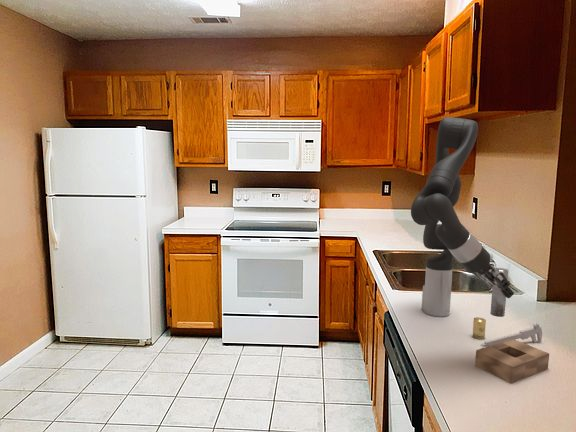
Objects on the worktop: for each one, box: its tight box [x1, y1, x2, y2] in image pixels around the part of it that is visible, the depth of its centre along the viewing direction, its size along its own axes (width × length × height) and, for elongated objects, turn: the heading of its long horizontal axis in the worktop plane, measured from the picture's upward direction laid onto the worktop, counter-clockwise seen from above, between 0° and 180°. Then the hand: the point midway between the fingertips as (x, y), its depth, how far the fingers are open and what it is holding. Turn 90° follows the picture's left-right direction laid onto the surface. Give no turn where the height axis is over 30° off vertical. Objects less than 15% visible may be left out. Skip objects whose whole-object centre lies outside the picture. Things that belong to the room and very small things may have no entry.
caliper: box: [480, 323, 543, 348], centre depth 135 cm, size 20×1×6 cm, turn 100°
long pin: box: [490, 267, 509, 318], centre depth 121 cm, size 4×4×13 cm
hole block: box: [474, 339, 550, 384], centre depth 121 cm, size 11×16×4 cm
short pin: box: [471, 316, 487, 340], centre depth 140 cm, size 4×4×6 cm
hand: (505, 293), depth 121 cm, fingers closed on long pin, 3 cm apart
